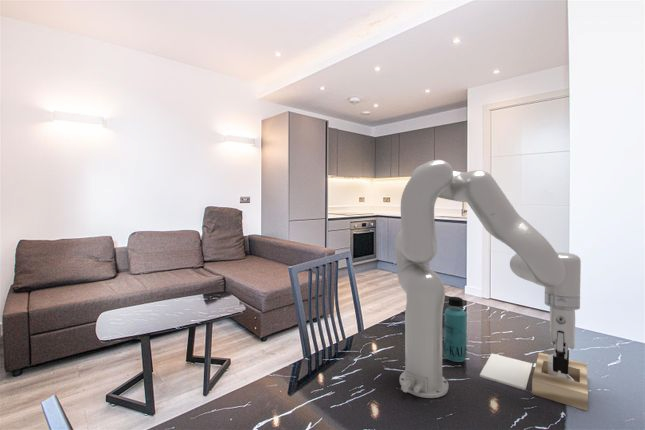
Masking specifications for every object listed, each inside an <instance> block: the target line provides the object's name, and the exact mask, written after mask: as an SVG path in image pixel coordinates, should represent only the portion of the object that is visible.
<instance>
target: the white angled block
mask: <svg viewBox="0 0 645 430" xmlns="http://www.w3.org/2000/svg"><path fill="white" fill-rule="evenodd" d="M553 355H554V353H551V354H548V374H549V375H553V376H557V377H561V378H564V379H568V380H572V381H575V380H574V379H573V378H571V377H570V376H569V375H568V374H563V373H561V371H559V370H558V372H555V371H553ZM564 358H565V357H564Z"/></svg>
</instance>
